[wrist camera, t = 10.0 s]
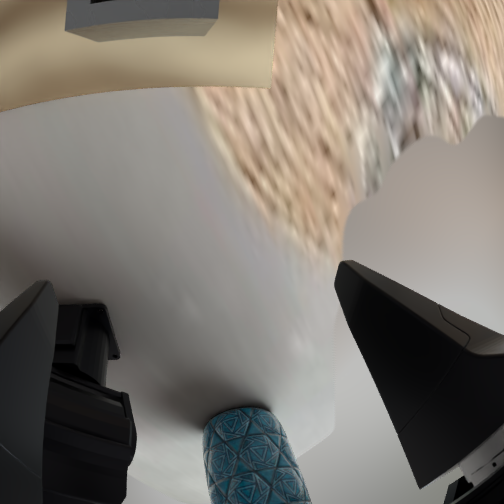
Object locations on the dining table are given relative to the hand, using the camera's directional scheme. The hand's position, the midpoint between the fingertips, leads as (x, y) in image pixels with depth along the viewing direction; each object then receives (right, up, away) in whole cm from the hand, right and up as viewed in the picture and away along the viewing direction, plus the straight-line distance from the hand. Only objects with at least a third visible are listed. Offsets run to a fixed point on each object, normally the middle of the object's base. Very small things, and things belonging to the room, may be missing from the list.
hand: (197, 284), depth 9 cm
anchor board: (-6, +16, +4) cm, 17 cm away
